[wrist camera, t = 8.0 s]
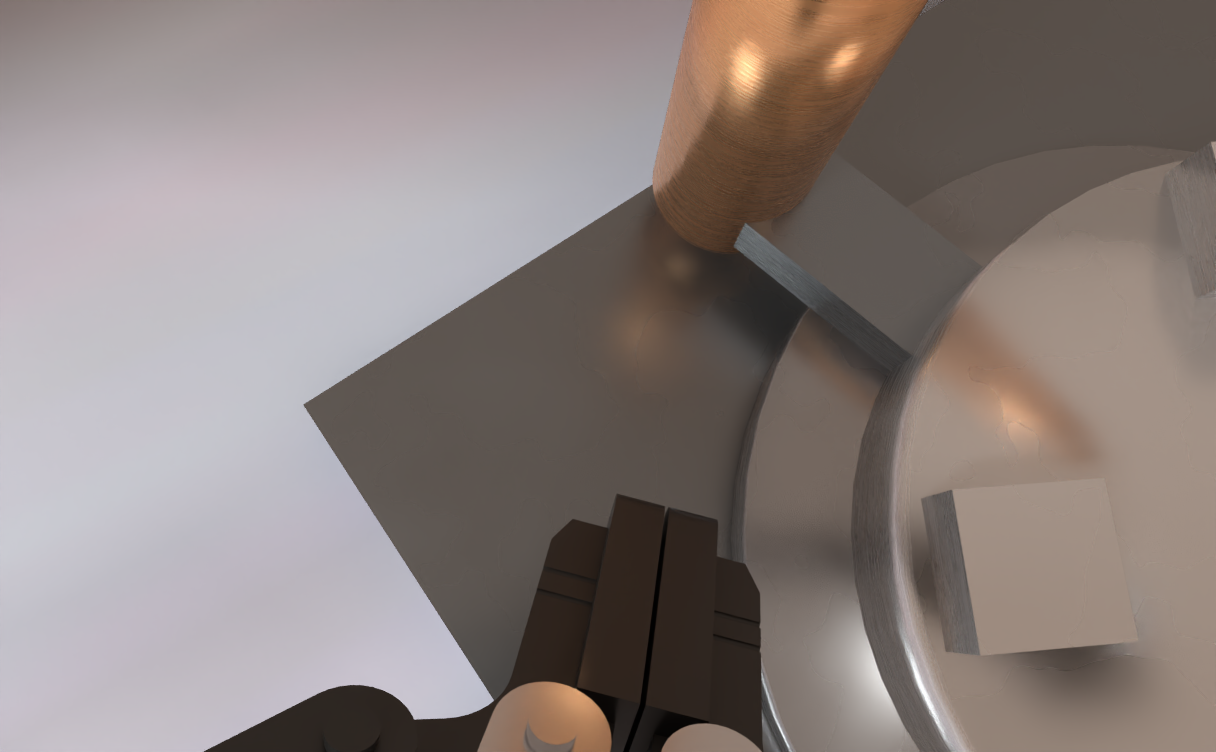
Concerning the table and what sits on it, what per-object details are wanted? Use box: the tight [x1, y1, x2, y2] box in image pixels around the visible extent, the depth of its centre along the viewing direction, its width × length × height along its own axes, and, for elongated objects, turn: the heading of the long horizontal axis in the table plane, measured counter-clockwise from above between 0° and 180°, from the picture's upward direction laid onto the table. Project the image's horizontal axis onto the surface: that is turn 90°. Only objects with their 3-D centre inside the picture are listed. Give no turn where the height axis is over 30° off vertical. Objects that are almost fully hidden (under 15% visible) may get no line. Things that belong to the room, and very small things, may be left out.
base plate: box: [304, 0, 1216, 752], centre depth 20 cm, size 26×26×3 cm
